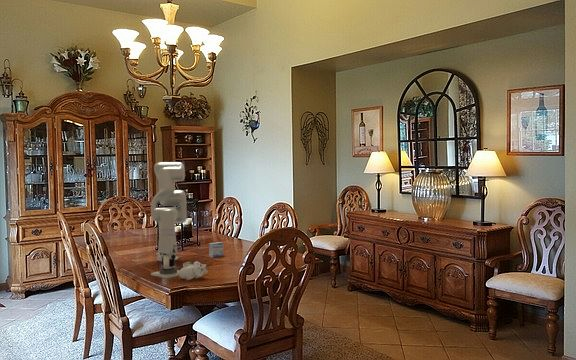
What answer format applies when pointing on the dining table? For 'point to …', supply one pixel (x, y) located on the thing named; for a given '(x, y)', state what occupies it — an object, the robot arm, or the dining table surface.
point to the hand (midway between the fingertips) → (168, 265)
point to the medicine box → (215, 249)
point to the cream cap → (166, 261)
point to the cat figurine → (192, 270)
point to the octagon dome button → (166, 273)
